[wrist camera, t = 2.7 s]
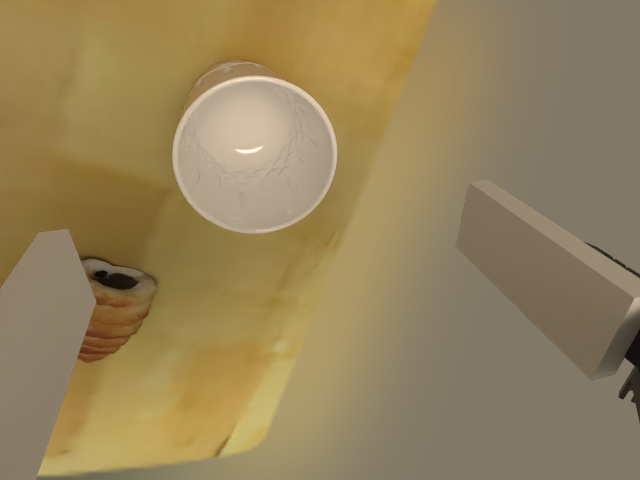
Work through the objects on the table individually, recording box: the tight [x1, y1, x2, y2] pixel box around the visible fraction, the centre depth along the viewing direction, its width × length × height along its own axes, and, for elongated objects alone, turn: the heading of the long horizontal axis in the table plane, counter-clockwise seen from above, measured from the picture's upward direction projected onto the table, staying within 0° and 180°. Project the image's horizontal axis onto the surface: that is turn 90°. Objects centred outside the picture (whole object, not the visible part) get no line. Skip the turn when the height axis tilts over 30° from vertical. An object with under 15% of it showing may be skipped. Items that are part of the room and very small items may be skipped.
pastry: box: [77, 259, 157, 363], centre depth 31 cm, size 9×7×4 cm
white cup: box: [172, 59, 337, 234], centre depth 23 cm, size 8×8×10 cm
